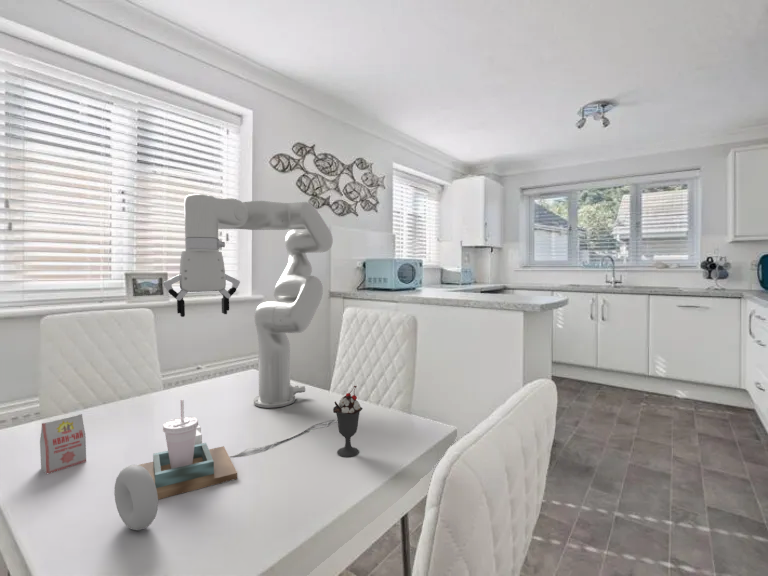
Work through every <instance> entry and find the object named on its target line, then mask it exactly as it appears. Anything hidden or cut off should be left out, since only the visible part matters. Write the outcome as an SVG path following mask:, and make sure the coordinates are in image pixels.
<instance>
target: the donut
mask: <svg viewBox="0 0 768 576" xmlns="http://www.w3.org/2000/svg"><path fill="white" fill-rule="evenodd" d="M139 465H140V464H131V465H128V466H126V467H125V468H122V470H120V472H119V474H117V477H116V479H115V482H114V492H113V493H114V501H115V506H116V509H117V510H116V511H117V513H118V515H119V517H120V519H121V520H122V522H123V523H124V525H125V526H126V527H127V528H129V529H131V530H133V531H141V530H143V529H147V528H148V527H149V526H150V525H151V524H152V522H154V520H155V519H156V516H157V513H158V510H159V509H158V508H159V499H158V495H157V490H156V486H155V483H154V481H153V478H152V477H151V475H150V474H149V472H148V471H147V470H146V469H145V468H144V467H142V466H139Z"/></svg>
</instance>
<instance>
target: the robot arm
mask: <svg viewBox="0 0 768 576" xmlns="http://www.w3.org/2000/svg"><path fill="white" fill-rule="evenodd" d="M183 203H184V204H183V205H184V206H183V209H184V238H185V239H184V242H185V243H184V244H185V245H184V247H185V250H183V251H181V254H180V259H179V260H180V261H179V262H180V263H179V274H177V275H176V276H173V277H172V278H169V279H167V280H165V281H163V283H162V285H163V286H164V287H165V289H166V291H167V293H169V295H170V296H172V297H173V298H174V299H176V306H177V307H176V312H177V314H179V317H181V318H184V317H185V316H186V314H185V313H186V312H185V311H186V310H185V308H186V305H185V300H184V297H185V296H186V295H187V294H188V293H200V292H201V293H203V292H205V293H206V292H208V293H209V292H219V293H220V294H221V295H222V298H221V313H222V314H223V315H227V314H228V311H230V299H231V297H232V296H233V294H235V293H236V292H237V289H238V288H239V286H240V284H241V281H240V280H239V279H237V278H234V277H232V276H230V275H228V274H226V271H225V270H226V269H225V263H224V262H225V261H224V257H223V252H222V251H220V249H221V248H225V246H226V242H225V241H221V240H220V238H219V230H248V231H276V230H277V231H288V232H287V233H286V234H285V238H284V239H285V240H284V244H285V248H286V252H287V259H288V260H287V265H285V268H284V270H283V272H282V274H281V275H280V277H279V279H278V281H277V282H276V283H275V287H274V289H273V296H274V298H275V299H274V300H267V301H264V302H261V303H260V304H258V305H257V307H256V309H255V310H254V311H255V312H254V315H253V316H254V323H255V327H256V333H257V334H256V335H257V343H258V344H257V345H258V347H257V349H258V354H257V355H258V395H257V396H255V397H254V398H253V404H254V405H255V406H256V407H259V408H265V409H272V408H273V409H274V408H276V409H277V408H282V407H286V406H289V405H291V404H293V403H294V402H295V401H296V394H300V393H301V394H302V393H305V392H306V387H305V385H303V386H299V385H294V386H293V385H291V343H290V340H289V338H288V335H287V334H302V333H304V332H305V331H306V330H307V329H308V328H309V327H310V324H311V322H312V320H313V318H314V316H315V315H316V312H317V310H318V308H319V306H320V304H321V301H322V299H323V293H324V288H323V283H322V281H321V280H320V278H319V277H317V276H314V275H312V272H313V267H312V265H311V262H310V260H309V258H308V256H307V253H308V254H309V253H312V254H313V253H325V252H328V251H329V250H330V249H331V248H332V245H333V234H332V232H331V230H330V228H329V227H328V225H327V224H326V222H325V220H324V219H323V217H322V216H321V214H320V213H319V211H318V210H317V209H316V208H315V206H314V205H313V204H311V203H310V202H308V201H298V202H297V201H296V202H280V201H279V202H277V201H268V200H267V201H266V200H250V201H248V200H247V201H241V200H239V199H237V198H231V197H229V198H228V197H227V198H226V197H215V196H213V195H209V194H204V193H202V194H201V193H200V194H199V193H193V194H192V193H191V194H188V195H185V198H184V201H183ZM177 282H179V287H180V290H179V291H178V292H177V291H176V290H174V288H173V286H172V285H174V284H175V283H177ZM227 282H230V283H232V285H231V287H230V288H229V289H228V290H227V289H226V285H227Z"/></svg>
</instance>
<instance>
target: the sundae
mask: <svg viewBox="0 0 768 576" xmlns="http://www.w3.org/2000/svg"><path fill="white" fill-rule="evenodd" d="M357 387H358V386H357V385H354V386H353V388H352V389H351V391H350V392H347V393H346V394H345V395H344V396H342V397H341V398H340V400H339V402H337V401H334V405H335V406H334V407H333V408H332V411H333V413H334V414H335V415H336V420H337V427H338V432H339V434H340V435H341V436H342V437H344V439H345V441H344V442H345V444H344V446H343V447H340V448H339V449H338V450H337V452H336V454H337V455H338V456H340V457H343V458H351V457H355V456H357V455H358V454H359V453H360V450H359V449H358V448H357V447H354V446H352V443H351V440H352V439H351V438H352V437H353V436H354V435H356V433H357V431H358V426H359V417H360V412H361V411H362V410H363V407H362V406H361V404H360V403H359V401H358V400H357V399H358V397H357V395H356V394H355V390H356V388H357ZM352 391H353V395H352V394H351V392H352Z"/></svg>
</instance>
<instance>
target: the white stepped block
mask: <svg viewBox="0 0 768 576" xmlns="http://www.w3.org/2000/svg"><path fill="white" fill-rule="evenodd" d="M202 443H203V434H202V428H201V426H200V425H198V427H197V428H196V438H195V445H197V444H202Z"/></svg>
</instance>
